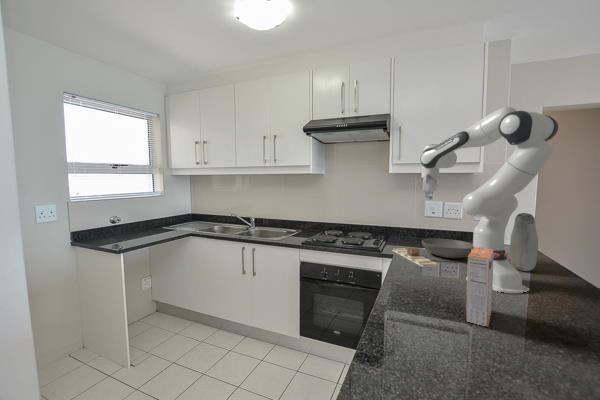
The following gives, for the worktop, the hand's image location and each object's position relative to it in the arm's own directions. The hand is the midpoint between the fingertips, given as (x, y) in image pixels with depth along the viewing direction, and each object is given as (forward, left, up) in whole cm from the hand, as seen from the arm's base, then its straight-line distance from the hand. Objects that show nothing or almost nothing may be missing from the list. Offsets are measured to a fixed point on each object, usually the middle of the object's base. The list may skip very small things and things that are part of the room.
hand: (428, 199), depth 150 cm
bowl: (+3, -15, -34) cm, 37 cm away
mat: (+3, +7, -33) cm, 34 cm away
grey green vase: (-24, -35, -34) cm, 54 cm away
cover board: (+3, +7, -33) cm, 34 cm away
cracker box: (-64, +22, -34) cm, 76 cm away
